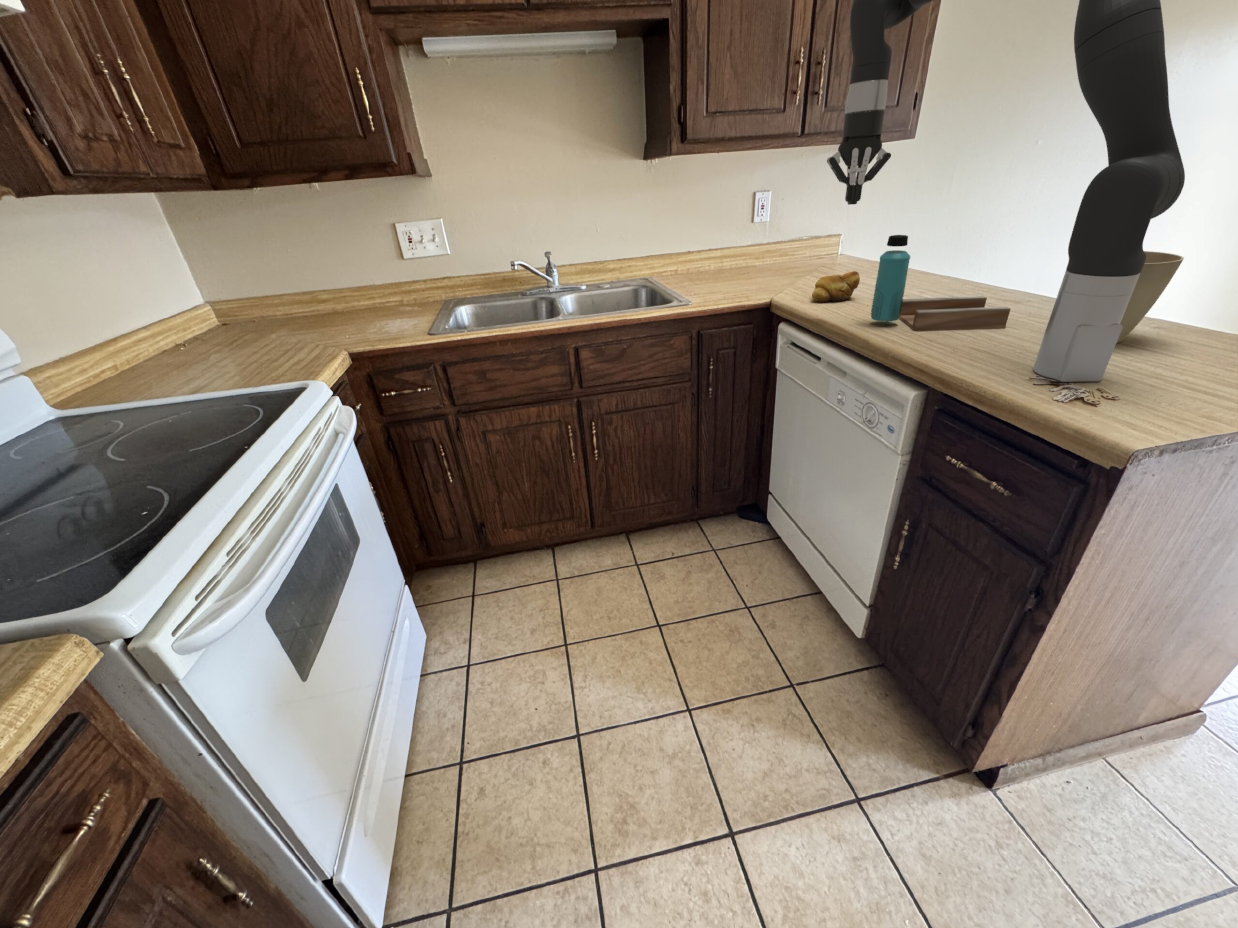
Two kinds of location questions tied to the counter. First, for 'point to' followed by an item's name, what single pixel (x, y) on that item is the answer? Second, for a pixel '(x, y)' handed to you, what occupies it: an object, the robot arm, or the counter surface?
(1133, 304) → the plant pot
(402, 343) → the counter surface
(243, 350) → the counter surface
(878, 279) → the beverage bottle
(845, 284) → the bread roll
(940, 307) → the walnut cradle
